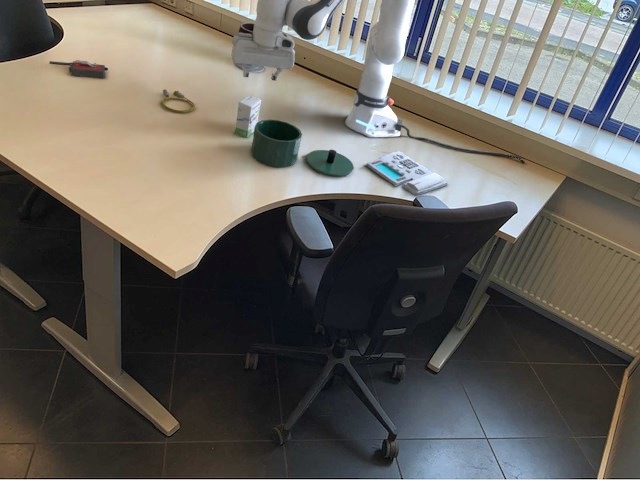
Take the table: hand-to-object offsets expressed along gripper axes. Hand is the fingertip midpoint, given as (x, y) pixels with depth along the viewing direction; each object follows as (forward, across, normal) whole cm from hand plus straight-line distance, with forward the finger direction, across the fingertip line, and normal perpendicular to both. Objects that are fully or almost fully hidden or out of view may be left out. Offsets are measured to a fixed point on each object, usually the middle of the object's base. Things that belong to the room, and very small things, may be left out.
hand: (259, 78), depth 180 cm
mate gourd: (+21, +11, +64) cm, 68 cm away
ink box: (+21, -2, +2) cm, 21 cm away
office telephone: (+20, +51, -23) cm, 60 cm away
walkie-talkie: (+21, -57, +40) cm, 73 cm away
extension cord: (+21, -24, +20) cm, 37 cm away
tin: (+20, +5, -14) cm, 26 cm away
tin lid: (+20, +24, -18) cm, 36 cm away
